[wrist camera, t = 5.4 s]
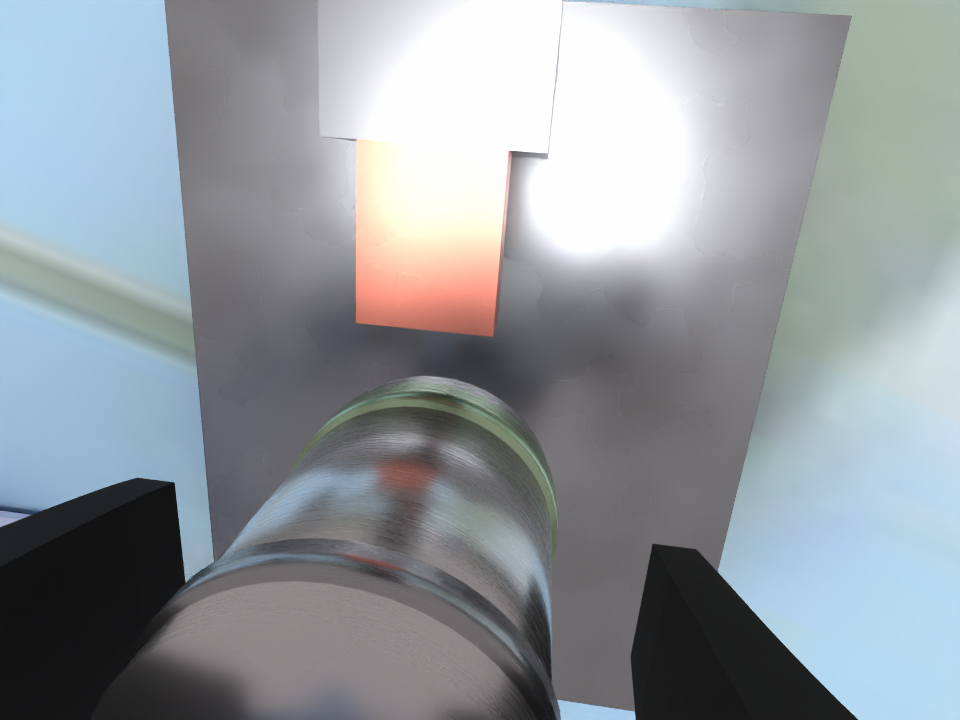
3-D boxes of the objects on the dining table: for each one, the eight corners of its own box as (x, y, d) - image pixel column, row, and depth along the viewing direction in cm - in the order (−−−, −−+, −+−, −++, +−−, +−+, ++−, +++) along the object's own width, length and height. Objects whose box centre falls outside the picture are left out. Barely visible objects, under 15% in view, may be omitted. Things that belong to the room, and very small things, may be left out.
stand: (245, 613, 20) (90, 841, 13) (202, -1, 14) (-115, -154, 7) (671, 676, 18) (740, 961, 12) (817, 32, 13) (1111, -116, 6)
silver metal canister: (318, 570, 12) (108, 933, 6) (313, 357, 10) (36, 580, 5) (543, 602, 12) (536, 1017, 6) (570, 385, 10) (598, 662, 4)
